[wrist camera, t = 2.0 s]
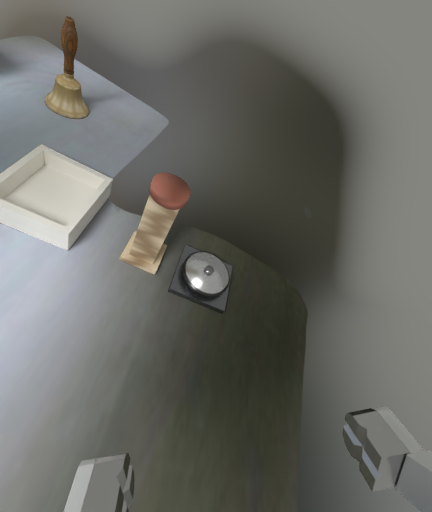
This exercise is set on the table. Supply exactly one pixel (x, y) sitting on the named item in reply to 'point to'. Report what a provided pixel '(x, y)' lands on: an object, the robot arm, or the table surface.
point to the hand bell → (68, 79)
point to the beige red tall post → (156, 222)
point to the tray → (51, 196)
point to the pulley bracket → (202, 279)
